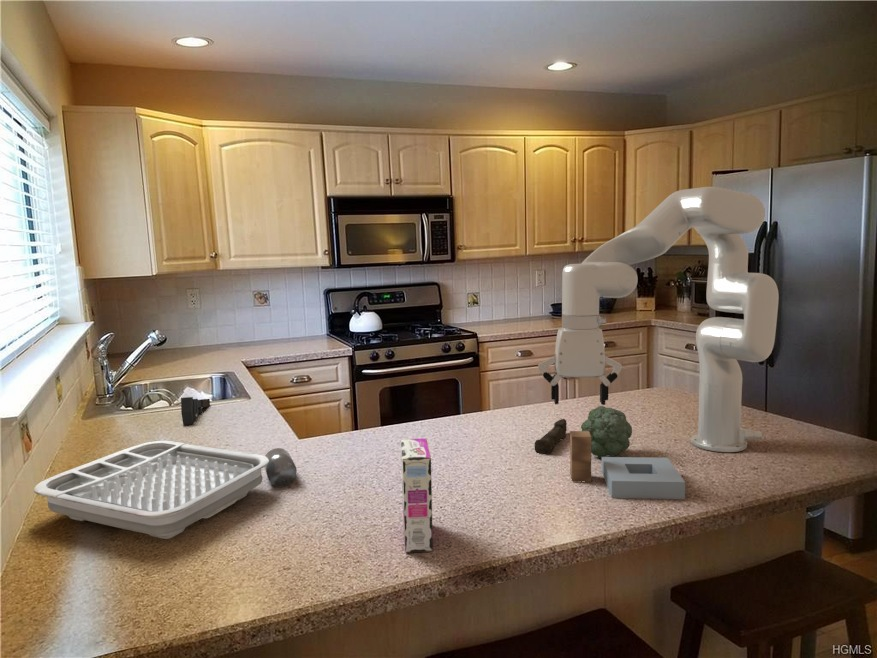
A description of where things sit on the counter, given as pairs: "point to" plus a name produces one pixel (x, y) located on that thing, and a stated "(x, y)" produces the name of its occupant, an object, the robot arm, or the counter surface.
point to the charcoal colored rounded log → (551, 437)
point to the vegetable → (607, 431)
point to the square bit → (580, 456)
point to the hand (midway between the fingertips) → (579, 403)
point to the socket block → (642, 478)
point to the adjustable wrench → (192, 409)
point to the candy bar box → (417, 495)
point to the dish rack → (154, 486)
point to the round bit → (280, 467)
